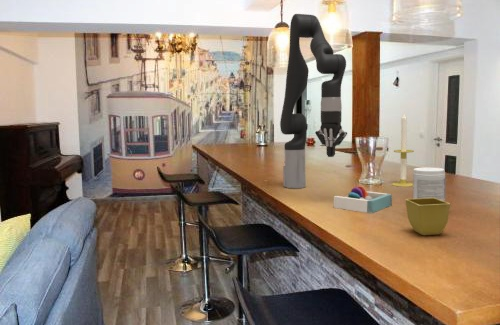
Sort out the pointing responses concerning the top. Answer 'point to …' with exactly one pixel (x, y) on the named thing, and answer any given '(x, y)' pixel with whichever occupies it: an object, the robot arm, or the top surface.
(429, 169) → the supplement tub
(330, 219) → the top surface
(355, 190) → the multicoloured petal flower toy
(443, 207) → the flower pot
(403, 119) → the candle
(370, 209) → the bay
